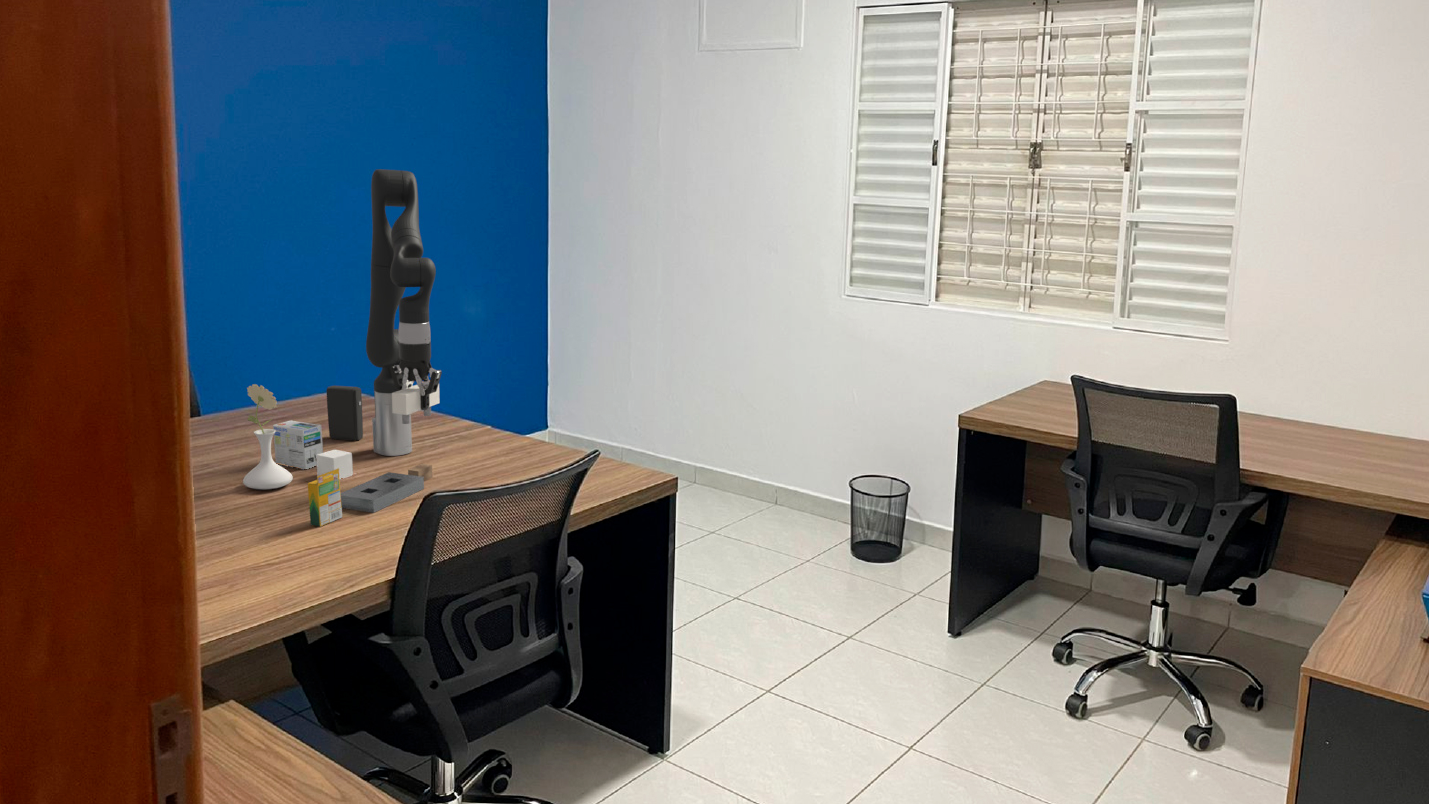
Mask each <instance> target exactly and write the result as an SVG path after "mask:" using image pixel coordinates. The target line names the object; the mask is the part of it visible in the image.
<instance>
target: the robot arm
mask: <svg viewBox="0 0 1429 804" xmlns="http://www.w3.org/2000/svg"><path fill="white" fill-rule="evenodd" d="M370 192H371V195H370V197H371V198H370V199H371V218H372V220H371V221H372V237H371V238H372V239H371V258H370V259H371V260H370V296H369V297H370V300H369V301H370V303H369V304H370V306H369V318H368V326H367V334H366V342H365V351H366V355H367V358H368V360H369V362H370V363H371V364H372V366H375V367H376V368H381V371H380V373H379V374H378V376H377V377H375V379H374V381H373V394H374V395H373V399H374V413H375V414H374V417H372V419H371V422H372V423H371V424H372V425H371V426H372V440H373V441H372V442H373V443H372V444H373V446H372V447H373V453H376V454H378V455H381V456H387V457H390V456H391V457H394V456H395V457H397V456H402V455H407V454H410V453H412V452H413V441H412V416H411V414H412V413H411V414H410V423H409V424H402V414H395V413H393V412H392V393H393V392H397V391H400V390H403V389H406V388H409V387H412V386H414V385H413V384H414V383H415V382H416V385H418V387H419V388H420V392H421V396H420V398H421V410H420V411H424V410H426V409H428V407H429V405H430V402H429V395H430V394H431V393H433V392H436V391H437V388H438V384H439V385H440V380H441V376H442V374H443V373H442V370H441V369H435V368H433V367H432V364H431V358H432V342H431V334H432V333H431V325H430V299H431V293H432V289H433V285H434V284H435V279H436V273H437V271H436V265H435V263H434V261H433V260H432V259H431V258H429V257H423V255H424V247H423V245H424V244H423V242H422V235H421V231H420V218H419V217H420V214H419V192H418V183H417V178H416V177H415V174H414V173H413V172H411V171H408V170H401V169H400V170H399V169H397V170H396V169H383V168H382V169H380V168H379V169H377V168H376V169H375V170H374V171H373V173H372V176H371V185H370ZM386 207H398V208H399V207H400V208H404V210H403V211H402V212H401V214H400V215H399V216H398V217H397V218H396V220H395V221H394V223H393V225H392V227H391V225H390V223H389V220H388V218H387V217H388V216H387V214H386V213H387V211H386ZM406 288H419V290H418V291H417V292H416V293H415V294H412V295H409V296H404V293H405V290H406ZM403 296H404V297H403ZM397 310H398V319H399V323H398V328H395V321H396V313H397ZM429 378H430V379H429ZM429 380H430V382H429Z"/></svg>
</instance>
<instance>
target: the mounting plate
mask: <svg viewBox="0 0 1429 804" xmlns="http://www.w3.org/2000/svg"><path fill="white" fill-rule="evenodd" d="M424 489H425V481H424V477H421V476H413V475H408V474H406V473H399V472H398V473H397V472H385V473H384V474H382V475H379V476H377V477H375V478H373V479H370V480H367V481H365V482H363V483H360V484H357V485H356V486H354V487H352V488H350V489H347V490H344V491H342V492H340V493H341V507H342V509H345V508H346V510H354V511H358V512H359V511H360V512H366V513H367V512H368V513H373V514H374V513H377V512H378V511H381V510H382V509H385V508H387V507H390V506H391V505H394V504H395V503H398V502H400V501H401V500H404V499H405V498H407V497H409V496H412V495H413V494H415V493H418V492H420V491H422V490H424Z"/></svg>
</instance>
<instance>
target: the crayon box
mask: <svg viewBox="0 0 1429 804" xmlns="http://www.w3.org/2000/svg"><path fill="white" fill-rule="evenodd" d="M327 474H333V475H328V476H327ZM324 476H325V477H324ZM340 480H341V479H339V468H338V469H335V470H332V471H330V472H327V473H325V474H322V475H319V476H318V475H317V476H316V479H315V480H312V481H311V482H307V496H308V506H309V520H310V526H312V525H315V526H314V527H318V526H319V527H320V528H322V527H323V526H326V525H328V524H329V523H332V522H334V521H336V520H339V519H342V518H343V508H342V507H341V493H342V492H341V481H340ZM321 526H322V527H321Z"/></svg>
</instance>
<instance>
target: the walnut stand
mask: <svg viewBox="0 0 1429 804" xmlns="http://www.w3.org/2000/svg"><path fill="white" fill-rule="evenodd" d="M407 475H413V476H421V477H424V482H426V481H428V480H430V479H432V478H433V465H432V464H428V463H427V464H426V463H421V464H418V465H416V466H413V467H411V468H409V469H407ZM429 478H430V479H429Z"/></svg>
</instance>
